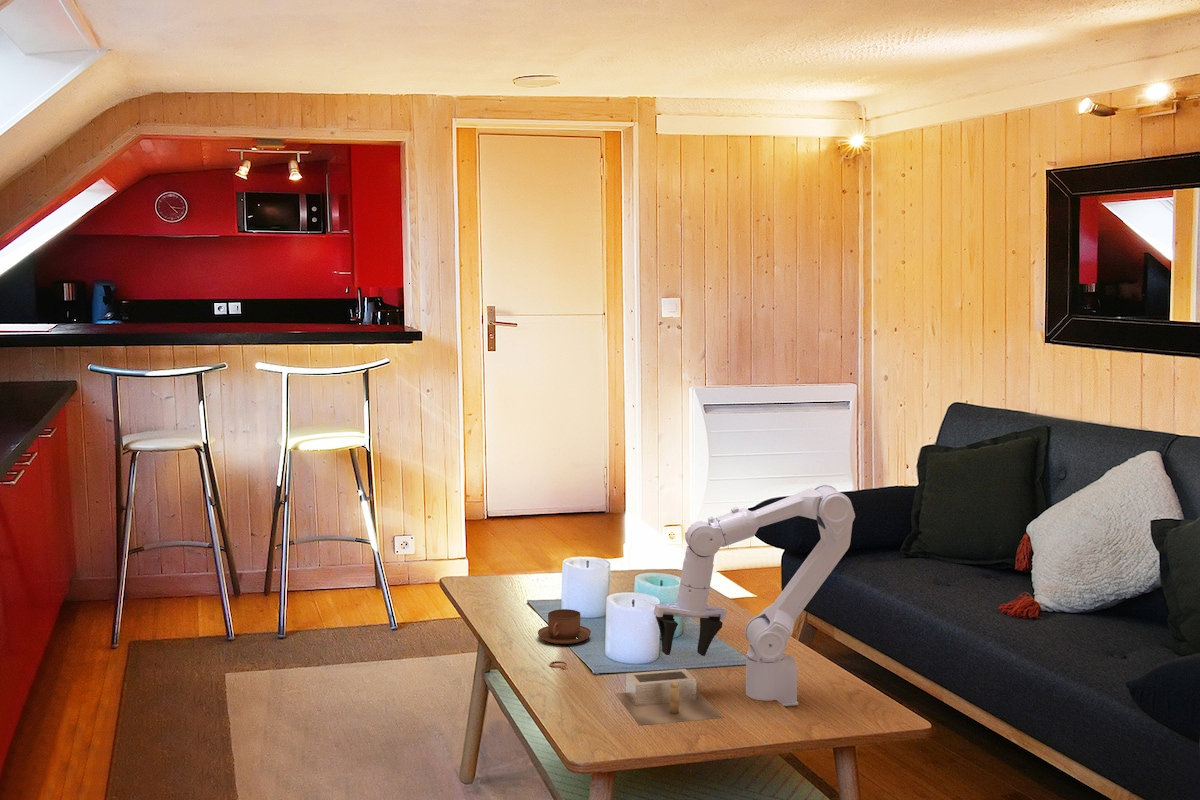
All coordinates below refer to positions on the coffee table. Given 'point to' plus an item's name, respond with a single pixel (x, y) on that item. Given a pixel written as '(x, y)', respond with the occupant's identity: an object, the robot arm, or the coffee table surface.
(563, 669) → the key
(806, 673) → the coffee table surface
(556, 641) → the cup and saucer
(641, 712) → the board
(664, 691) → the cream hollow block
